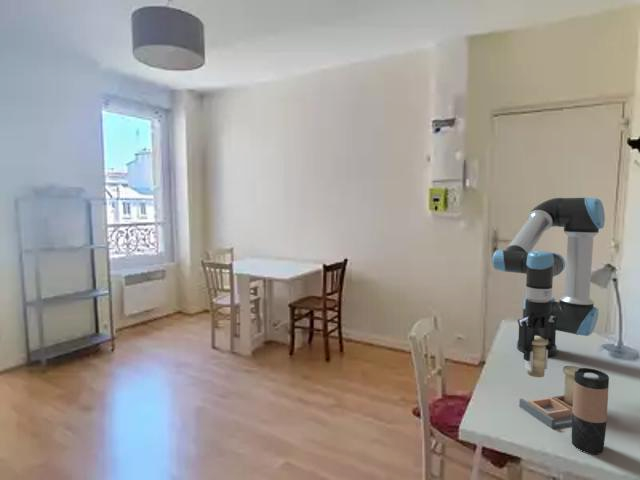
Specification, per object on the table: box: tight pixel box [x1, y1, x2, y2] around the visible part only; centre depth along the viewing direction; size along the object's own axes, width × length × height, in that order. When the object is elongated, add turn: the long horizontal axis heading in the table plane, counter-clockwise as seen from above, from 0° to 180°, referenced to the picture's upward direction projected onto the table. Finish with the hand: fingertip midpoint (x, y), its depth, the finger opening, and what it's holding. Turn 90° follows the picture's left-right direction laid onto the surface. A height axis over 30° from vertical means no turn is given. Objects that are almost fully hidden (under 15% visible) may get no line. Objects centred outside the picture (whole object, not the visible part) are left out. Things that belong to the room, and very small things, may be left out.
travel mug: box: [571, 367, 610, 455], centre depth 110 cm, size 8×8×20 cm
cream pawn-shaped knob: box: [526, 336, 548, 378], centre depth 138 cm, size 6×6×12 cm
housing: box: [518, 365, 581, 429], centre depth 127 cm, size 13×19×13 cm
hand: (535, 368), depth 138 cm, fingers closed on cream pawn-shaped knob, 5 cm apart
